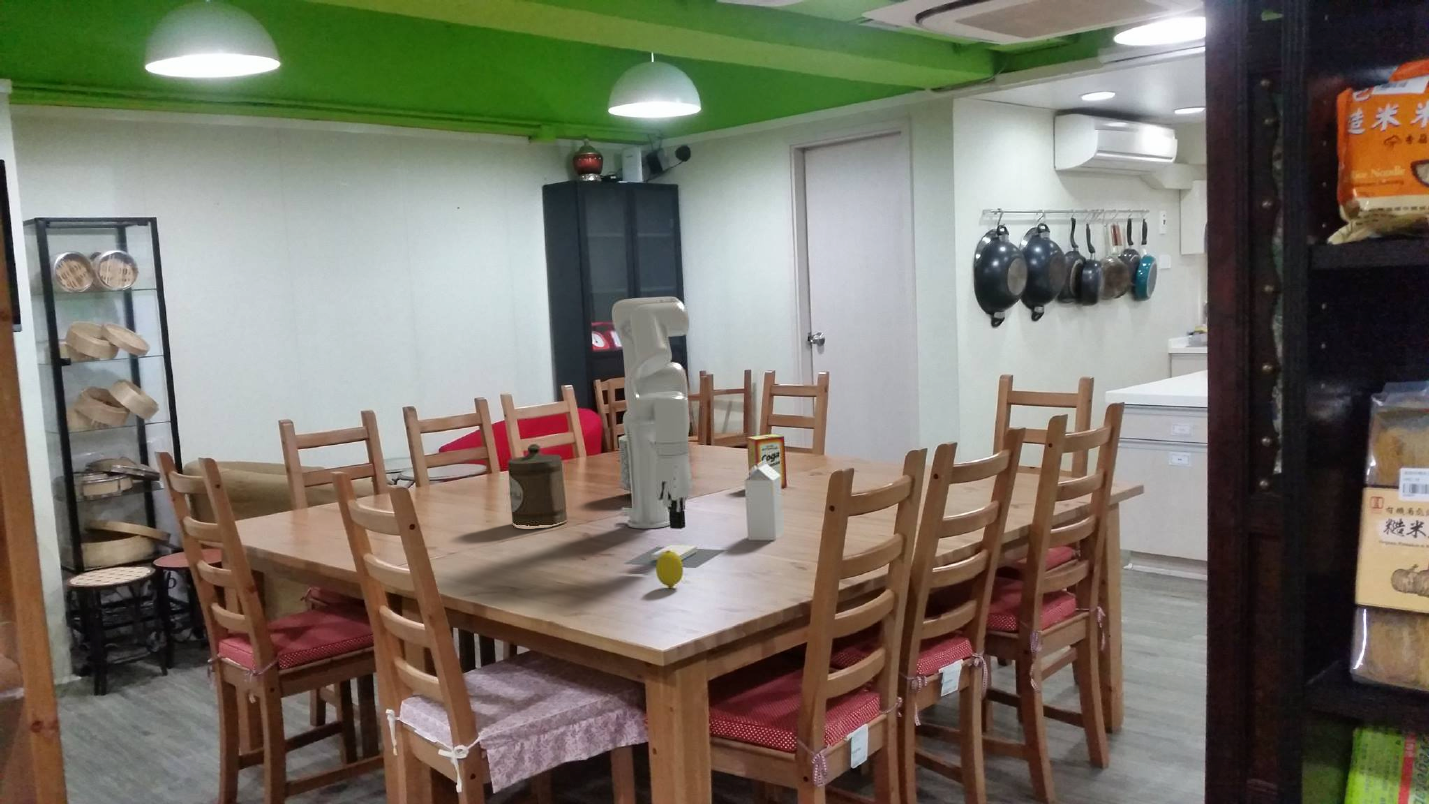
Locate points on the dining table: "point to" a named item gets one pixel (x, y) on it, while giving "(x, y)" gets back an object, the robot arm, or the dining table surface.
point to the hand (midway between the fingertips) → (677, 527)
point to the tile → (676, 551)
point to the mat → (690, 562)
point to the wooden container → (537, 489)
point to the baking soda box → (768, 453)
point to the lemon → (669, 568)
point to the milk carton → (764, 503)
